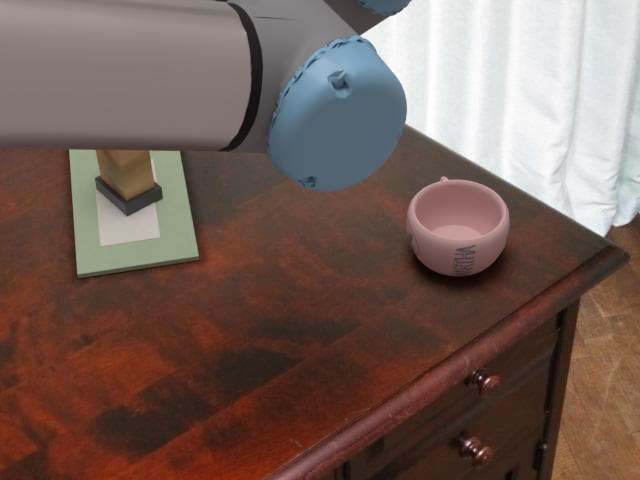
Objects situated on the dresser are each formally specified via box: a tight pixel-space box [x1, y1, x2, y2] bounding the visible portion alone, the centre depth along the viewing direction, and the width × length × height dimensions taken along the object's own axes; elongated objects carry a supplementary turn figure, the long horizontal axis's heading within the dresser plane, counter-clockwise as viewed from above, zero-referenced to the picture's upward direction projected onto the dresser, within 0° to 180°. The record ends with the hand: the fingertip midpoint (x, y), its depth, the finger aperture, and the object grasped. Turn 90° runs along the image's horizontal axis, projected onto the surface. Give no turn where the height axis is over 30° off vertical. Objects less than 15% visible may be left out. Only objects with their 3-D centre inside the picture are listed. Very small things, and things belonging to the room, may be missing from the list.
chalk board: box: [68, 150, 200, 279], centre depth 121 cm, size 22×12×1 cm, turn 11°
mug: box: [405, 176, 511, 277], centre depth 113 cm, size 12×10×6 cm
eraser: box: [95, 150, 163, 216], centre depth 117 cm, size 6×4×12 cm
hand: (187, 102), depth 101 cm, fingers open, 13 cm apart
